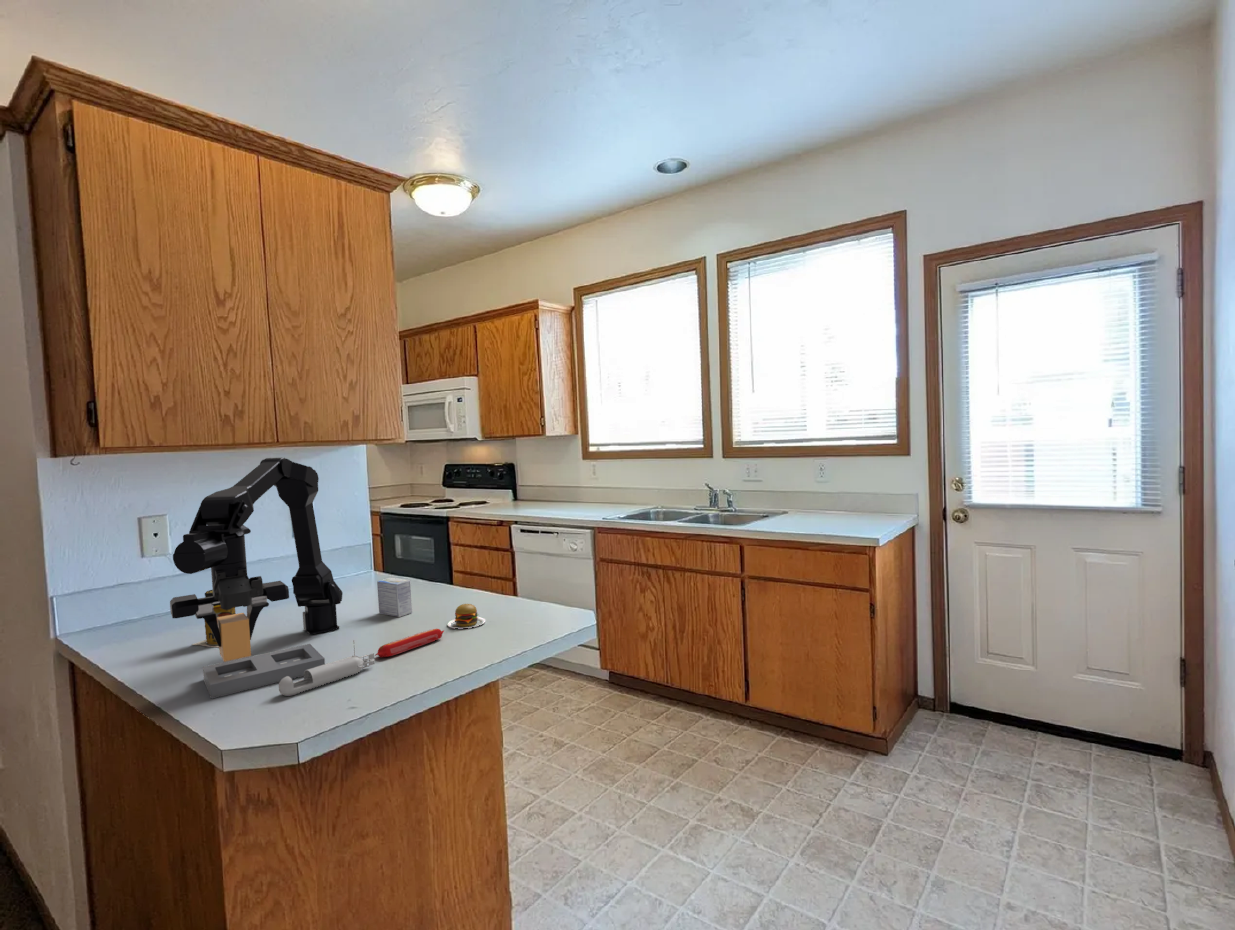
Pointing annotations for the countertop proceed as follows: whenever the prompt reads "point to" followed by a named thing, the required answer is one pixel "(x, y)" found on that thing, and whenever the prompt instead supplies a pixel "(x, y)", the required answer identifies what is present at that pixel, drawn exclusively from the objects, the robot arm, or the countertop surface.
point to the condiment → (219, 613)
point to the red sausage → (409, 642)
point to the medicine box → (394, 597)
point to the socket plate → (260, 670)
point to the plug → (234, 636)
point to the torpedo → (325, 674)
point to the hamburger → (466, 616)
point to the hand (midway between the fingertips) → (234, 643)
